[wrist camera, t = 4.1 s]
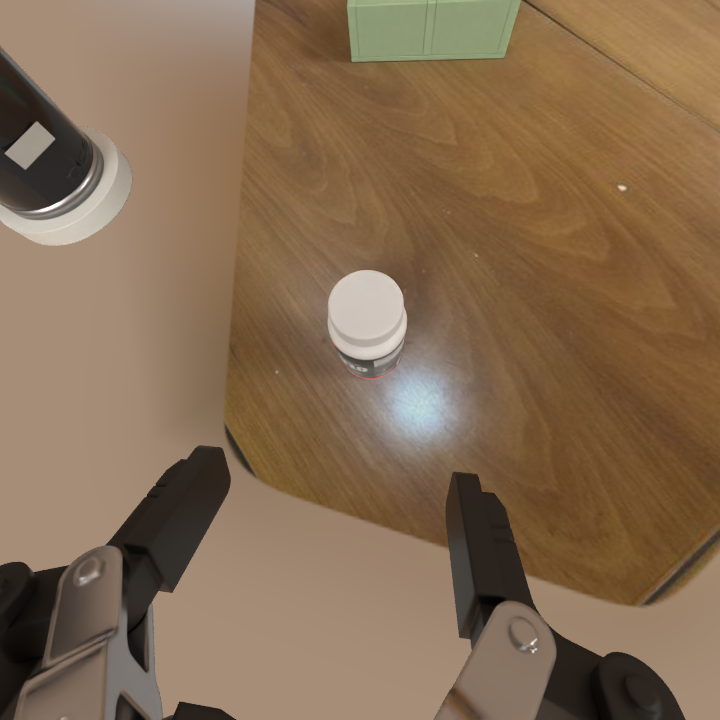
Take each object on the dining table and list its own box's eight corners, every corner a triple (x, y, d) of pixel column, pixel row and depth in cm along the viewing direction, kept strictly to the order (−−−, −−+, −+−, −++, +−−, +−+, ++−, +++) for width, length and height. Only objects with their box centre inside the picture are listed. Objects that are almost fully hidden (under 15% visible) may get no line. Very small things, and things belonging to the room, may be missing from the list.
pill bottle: (328, 346, 25) (301, 298, 17) (375, 310, 26) (370, 246, 18) (367, 393, 24) (357, 365, 16) (415, 353, 25) (429, 307, 17)
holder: (351, 62, 34) (346, 6, 29) (358, 9, 36) (354, -51, 31) (504, 58, 32) (521, -2, 28) (502, 3, 34) (518, -61, 30)
